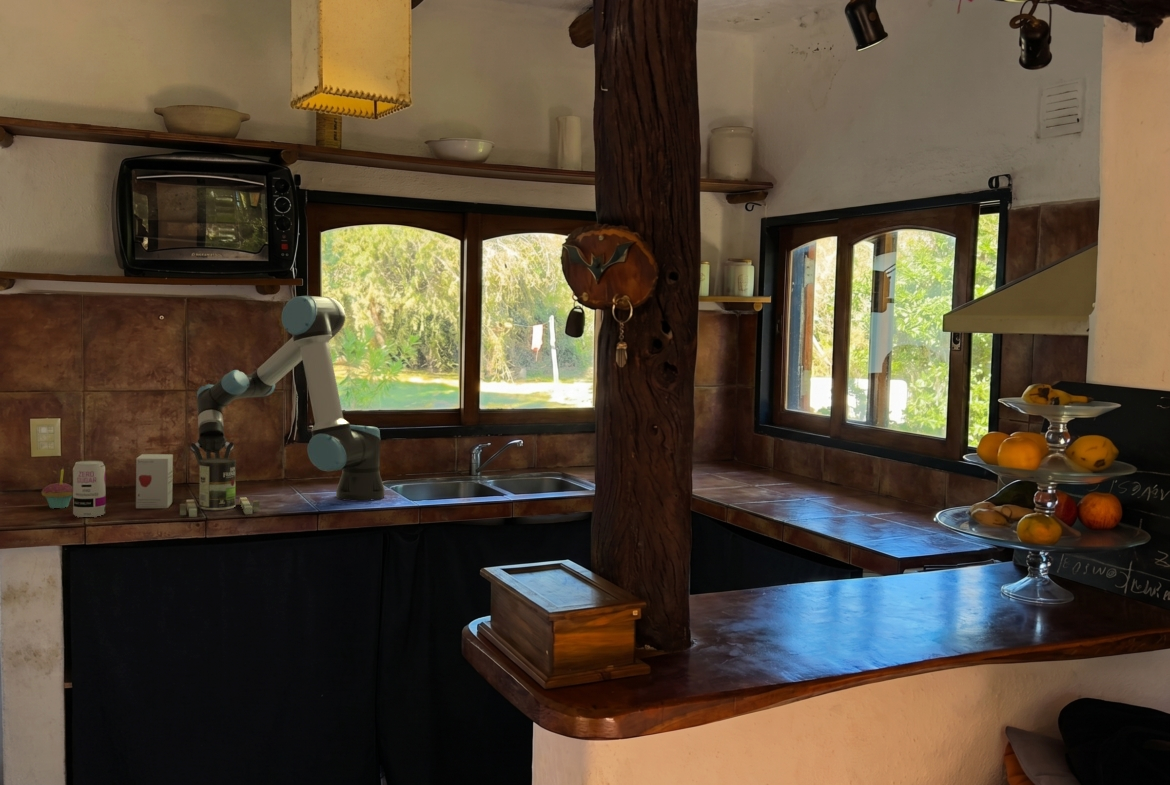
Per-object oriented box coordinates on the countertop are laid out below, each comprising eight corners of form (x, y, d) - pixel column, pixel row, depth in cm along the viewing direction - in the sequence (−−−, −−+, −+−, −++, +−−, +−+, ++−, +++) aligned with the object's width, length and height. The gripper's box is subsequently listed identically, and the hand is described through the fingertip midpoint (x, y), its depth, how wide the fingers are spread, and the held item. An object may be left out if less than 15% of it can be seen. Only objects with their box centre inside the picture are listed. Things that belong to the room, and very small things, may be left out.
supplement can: (99, 511, 293) (99, 459, 292) (109, 516, 287) (109, 463, 286) (69, 514, 287) (68, 461, 286) (78, 519, 281) (78, 465, 280)
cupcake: (81, 506, 299) (81, 465, 298) (55, 511, 292) (55, 469, 291) (60, 503, 303) (60, 463, 302) (34, 507, 295) (34, 466, 294)
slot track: (178, 506, 303) (178, 496, 303) (254, 503, 312) (254, 493, 311) (180, 517, 288) (180, 507, 288) (260, 513, 297) (260, 503, 297)
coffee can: (242, 505, 309) (242, 458, 307) (223, 511, 299) (223, 463, 297) (211, 502, 311) (211, 456, 310) (191, 509, 301) (191, 461, 299)
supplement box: (134, 509, 298) (134, 458, 297) (141, 503, 307) (140, 453, 306) (168, 508, 300) (168, 458, 299) (173, 502, 309) (173, 453, 308)
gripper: (231, 434, 332) (236, 494, 318) (188, 435, 326) (191, 496, 312) (233, 420, 326) (238, 480, 312) (189, 420, 321) (192, 482, 307)
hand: (214, 488), depth 312 cm, fingers closed
